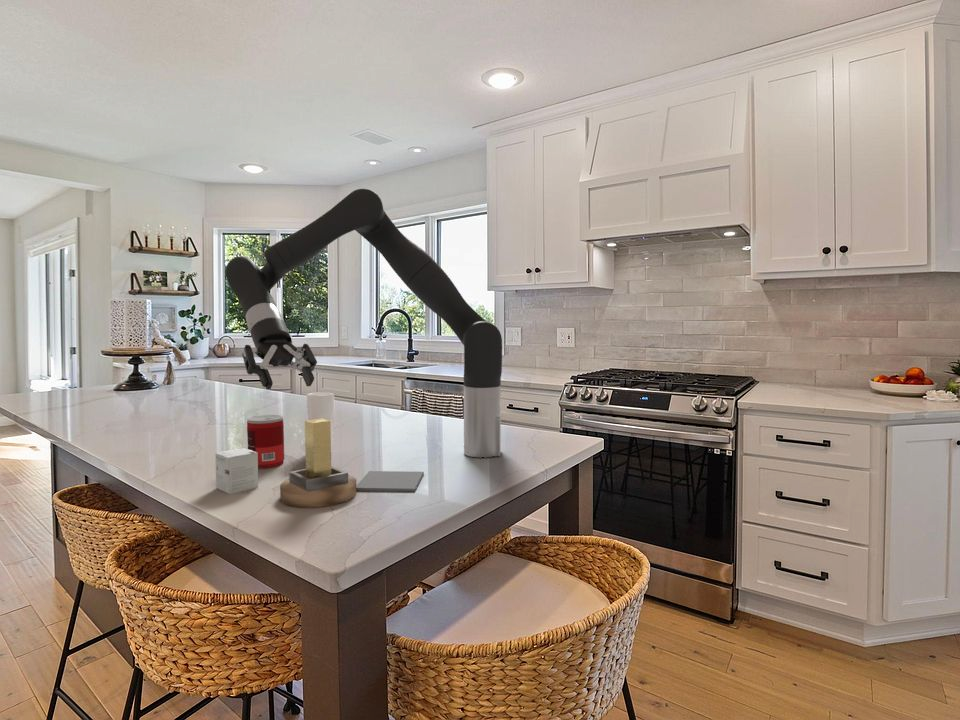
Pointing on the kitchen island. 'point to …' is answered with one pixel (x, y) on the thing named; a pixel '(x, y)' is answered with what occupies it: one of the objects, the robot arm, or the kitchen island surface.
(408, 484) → the mat
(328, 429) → the brass bar
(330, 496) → the copper round socket base
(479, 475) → the kitchen island surface
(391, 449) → the kitchen island surface
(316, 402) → the drinking glass
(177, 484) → the kitchen island surface
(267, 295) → the robot arm
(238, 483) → the skincare box
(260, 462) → the canned food
